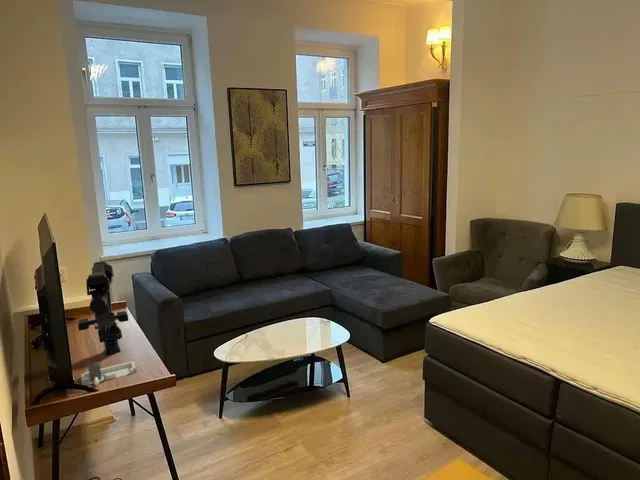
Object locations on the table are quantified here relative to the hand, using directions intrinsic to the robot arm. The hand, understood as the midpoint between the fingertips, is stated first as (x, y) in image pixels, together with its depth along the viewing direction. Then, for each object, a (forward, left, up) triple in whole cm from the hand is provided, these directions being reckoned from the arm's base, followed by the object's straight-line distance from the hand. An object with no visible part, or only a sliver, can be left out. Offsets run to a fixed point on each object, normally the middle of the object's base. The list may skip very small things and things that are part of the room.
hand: (106, 339), depth 193 cm
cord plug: (+11, -6, -12) cm, 17 cm away
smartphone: (-2, -16, -13) cm, 21 cm away
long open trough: (+8, -1, -12) cm, 15 cm away
